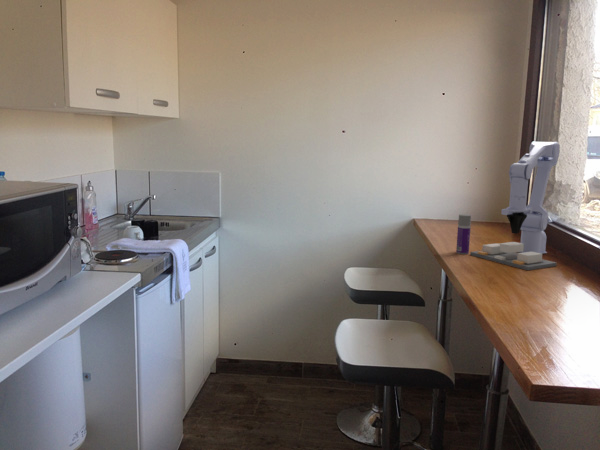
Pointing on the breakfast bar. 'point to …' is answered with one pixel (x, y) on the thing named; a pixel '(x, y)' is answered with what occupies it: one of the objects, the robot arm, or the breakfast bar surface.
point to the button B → (511, 247)
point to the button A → (492, 248)
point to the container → (463, 234)
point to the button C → (530, 257)
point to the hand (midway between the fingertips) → (515, 233)
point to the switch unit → (512, 260)
